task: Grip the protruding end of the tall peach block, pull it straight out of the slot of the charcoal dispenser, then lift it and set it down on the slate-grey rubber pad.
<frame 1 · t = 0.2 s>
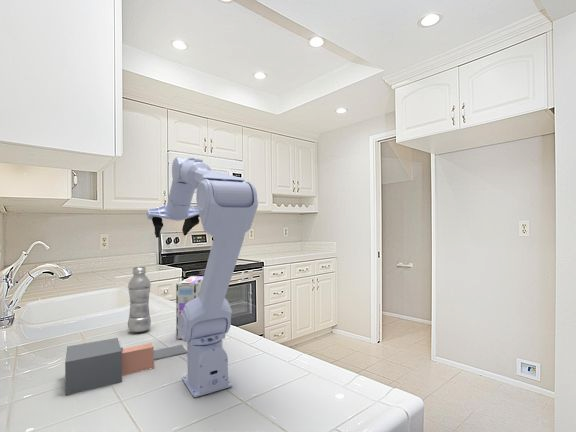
hand: (170, 233, 93), 31 cm above the counter, tool tilted 45°, fingers open, 7 cm apart
candy box: (193, 332, 102), on the counter
plastic bottle: (139, 332, 103), on the counter
tall peach block: (126, 372, 75), on the counter
pad: (156, 355, 84), on the counter
dispenser: (93, 378, 72), on the counter
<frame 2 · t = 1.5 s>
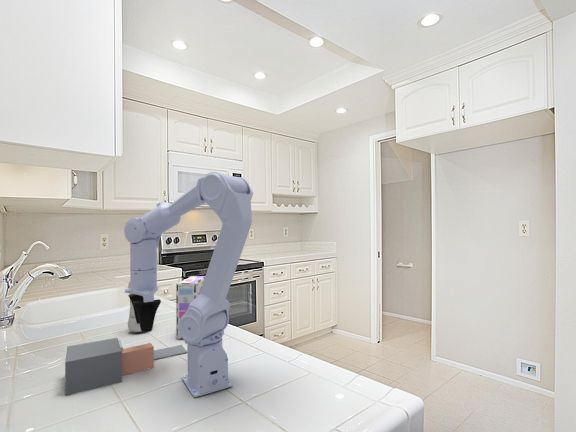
hand: (144, 326, 77), 9 cm above the counter, tool pointing down, fingers open, 7 cm apart
nothing on the counter moved.
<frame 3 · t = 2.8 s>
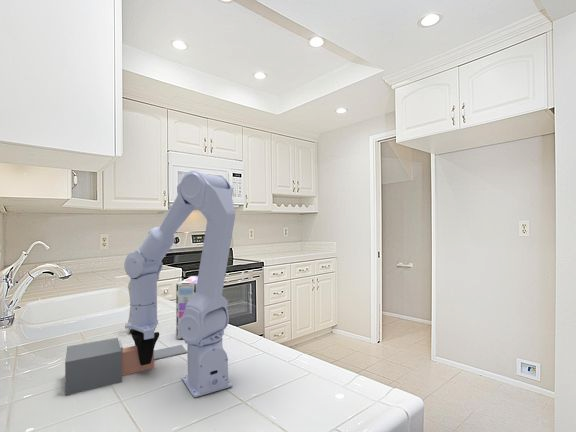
hand: (144, 361, 77), 1 cm above the counter, tool pointing down, fingers closed on tall peach block, 3 cm apart
tall peach block: (126, 371, 75), on the counter, touching gripper
everything else where it was.
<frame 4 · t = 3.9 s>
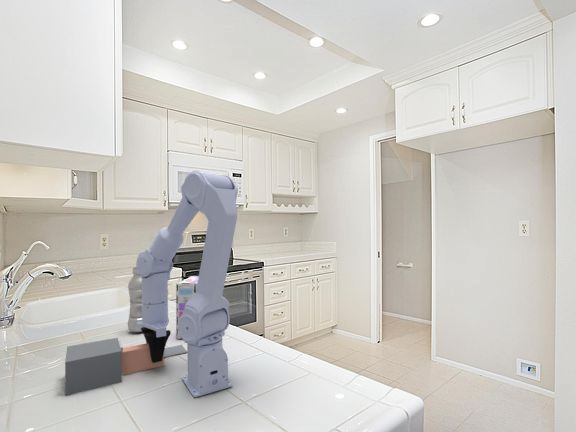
hand: (155, 358, 79), 1 cm above the counter, tool pointing down, fingers closed on tall peach block, 3 cm apart
tall peach block: (137, 368, 76), on the counter, touching gripper
everything else where it was.
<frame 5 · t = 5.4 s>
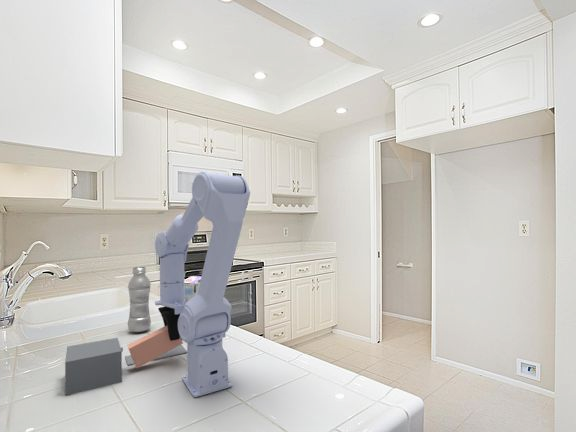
hand: (173, 337, 81), 6 cm above the counter, tool pointing down, fingers closed on tall peach block, 3 cm apart
tall peach block: (159, 353, 79), point 3 cm above the counter, tilted 19°, touching gripper
everything else where it was.
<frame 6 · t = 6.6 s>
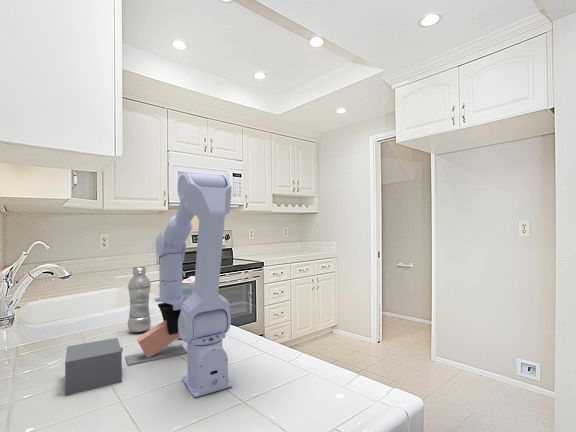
hand: (171, 331, 86), 5 cm above the counter, tool pointing down, fingers closed on tall peach block, 3 cm apart
tall peach block: (166, 342, 86), point 3 cm above the counter, tilted 25°, touching gripper, pad
everything else where it was.
when the fingers open (3 cm above the counter, at t = 7.3 s): tall peach block stays where it is, resting on pad.
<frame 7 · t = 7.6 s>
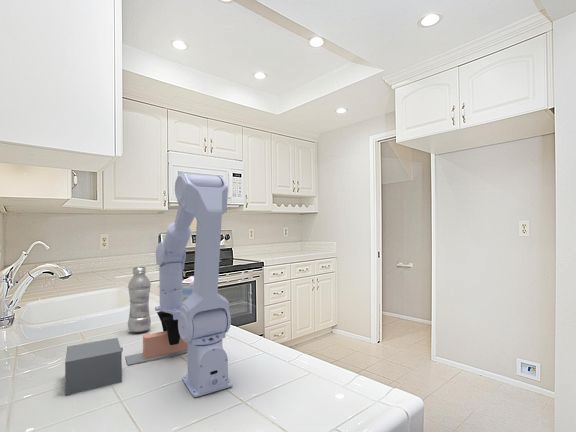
hand: (171, 340, 86), 3 cm above the counter, tool pointing down, fingers open, 5 cm apart
tall peach block: (166, 351, 86), resting on pad
everything else where it was.
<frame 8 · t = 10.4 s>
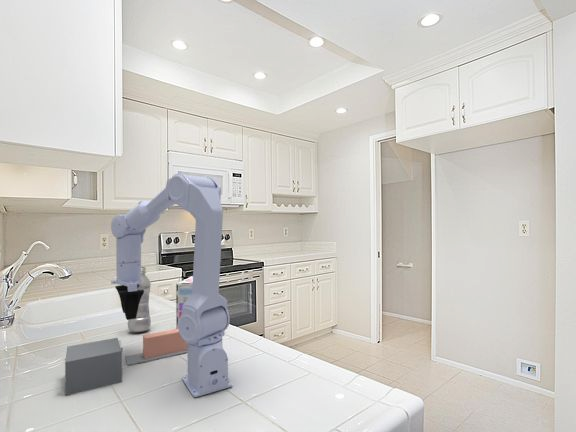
hand: (129, 315, 84), 10 cm above the counter, tool pointing down, fingers open, 7 cm apart
nothing on the counter moved.
at the end: tall peach block inside the target area on the pad (2.5 cm from its centre), point 0.3 cm above the pad's base; tall peach block moved 11.6 cm from its start; the gripper is holding nothing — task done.
